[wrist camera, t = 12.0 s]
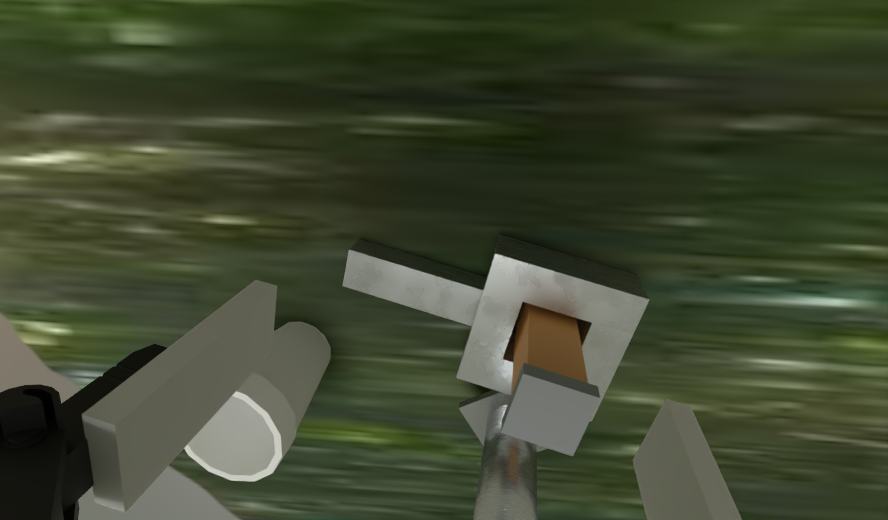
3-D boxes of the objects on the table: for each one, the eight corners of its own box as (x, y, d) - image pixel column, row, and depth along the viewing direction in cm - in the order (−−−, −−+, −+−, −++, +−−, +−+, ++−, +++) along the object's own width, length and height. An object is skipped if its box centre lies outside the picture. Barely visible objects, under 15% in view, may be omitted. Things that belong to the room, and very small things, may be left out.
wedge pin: (526, 282, 41) (523, 373, 28) (579, 298, 41) (600, 398, 28) (510, 327, 43) (500, 432, 30) (560, 342, 43) (572, 456, 30)
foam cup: (354, 327, 46) (292, 412, 34) (335, 398, 50) (273, 497, 38) (267, 295, 47) (175, 367, 35) (254, 367, 50) (168, 455, 38)
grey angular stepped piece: (369, 195, 41) (257, 271, 25) (636, 274, 39) (710, 413, 23) (334, 378, 49) (233, 529, 32) (556, 451, 47) (568, 650, 31)
